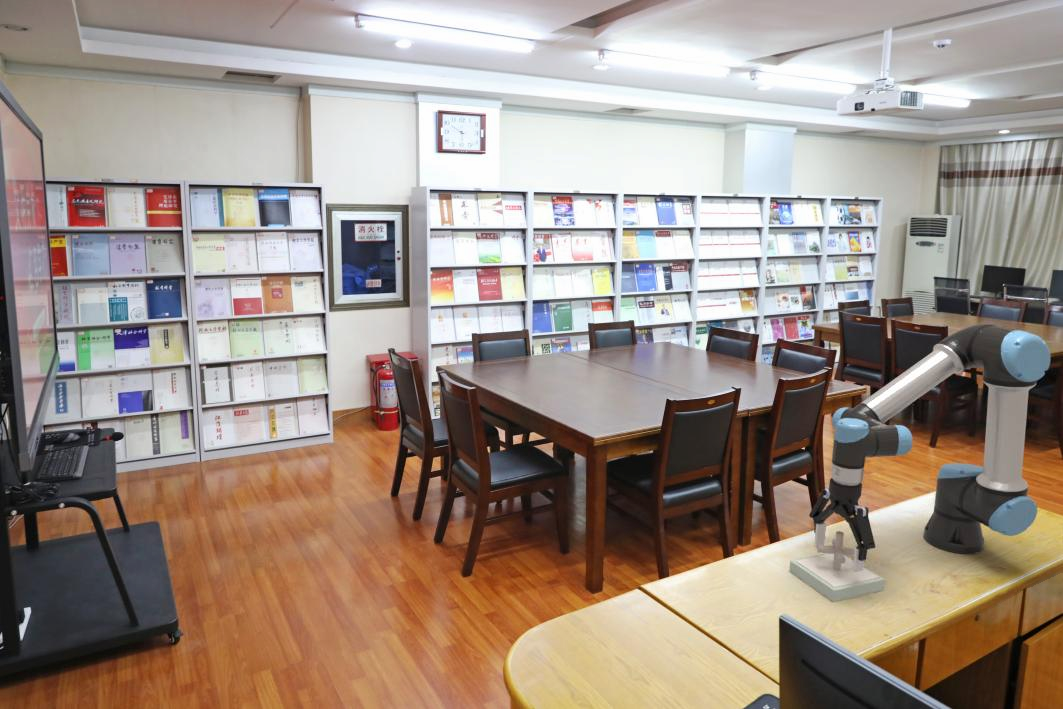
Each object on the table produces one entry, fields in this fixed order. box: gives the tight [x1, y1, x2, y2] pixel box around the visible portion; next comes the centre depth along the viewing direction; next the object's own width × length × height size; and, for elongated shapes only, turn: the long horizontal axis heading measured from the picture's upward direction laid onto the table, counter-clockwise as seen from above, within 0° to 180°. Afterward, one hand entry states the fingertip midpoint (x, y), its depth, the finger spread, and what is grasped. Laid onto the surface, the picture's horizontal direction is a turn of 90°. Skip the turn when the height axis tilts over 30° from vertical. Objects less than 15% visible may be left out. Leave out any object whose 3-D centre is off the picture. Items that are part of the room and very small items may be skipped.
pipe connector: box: [816, 530, 855, 571], centre depth 190 cm, size 10×10×10 cm
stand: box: [788, 553, 886, 603], centre depth 191 cm, size 16×16×3 cm
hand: (837, 558), depth 190 cm, fingers open, 13 cm apart
